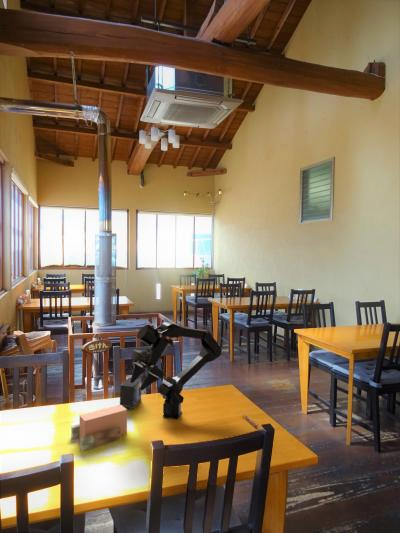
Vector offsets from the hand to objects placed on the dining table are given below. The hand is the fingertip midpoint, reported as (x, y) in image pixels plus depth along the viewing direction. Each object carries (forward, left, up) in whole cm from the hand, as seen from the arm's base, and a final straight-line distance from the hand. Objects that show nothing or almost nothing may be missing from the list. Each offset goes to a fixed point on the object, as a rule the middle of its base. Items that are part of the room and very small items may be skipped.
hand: (136, 386), depth 143 cm
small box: (+10, -17, -16) cm, 25 cm away
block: (+8, +11, -16) cm, 21 cm away
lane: (+10, +13, -16) cm, 23 cm away
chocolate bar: (-44, -14, -16) cm, 49 cm away
